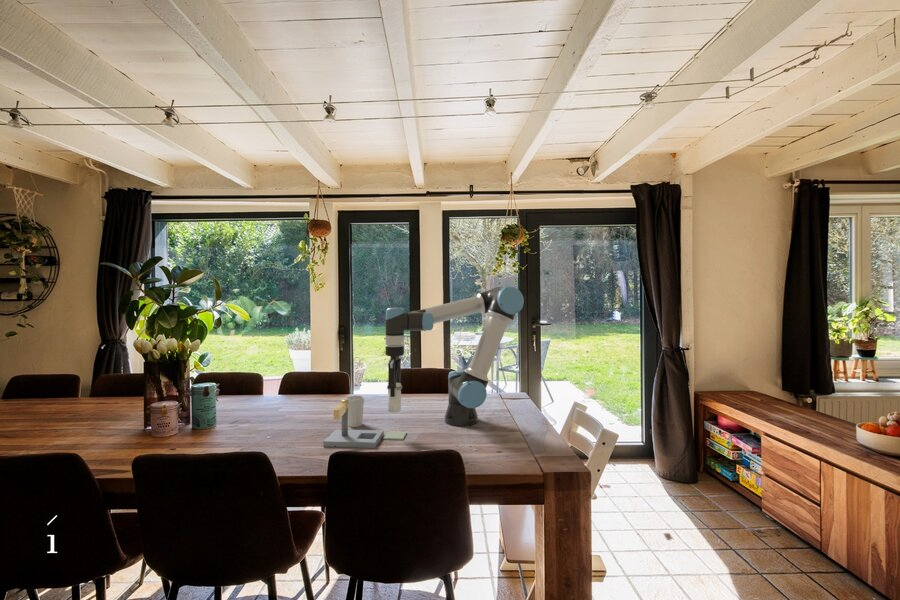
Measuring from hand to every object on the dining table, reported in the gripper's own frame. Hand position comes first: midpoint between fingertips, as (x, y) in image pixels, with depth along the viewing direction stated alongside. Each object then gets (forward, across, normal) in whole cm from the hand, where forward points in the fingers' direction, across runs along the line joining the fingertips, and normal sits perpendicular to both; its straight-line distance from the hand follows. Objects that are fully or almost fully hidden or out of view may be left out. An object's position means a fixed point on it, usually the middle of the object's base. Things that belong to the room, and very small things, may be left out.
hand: (394, 402), depth 166 cm
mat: (+14, 0, 0) cm, 14 cm away
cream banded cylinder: (+3, 0, 0) cm, 3 cm away
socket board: (+14, +6, -15) cm, 21 cm away
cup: (+14, -14, -21) cm, 29 cm away
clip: (+2, +11, -18) cm, 22 cm away
